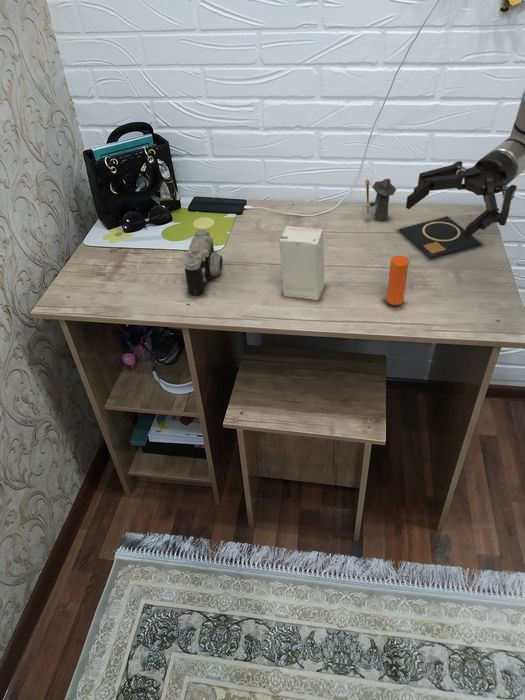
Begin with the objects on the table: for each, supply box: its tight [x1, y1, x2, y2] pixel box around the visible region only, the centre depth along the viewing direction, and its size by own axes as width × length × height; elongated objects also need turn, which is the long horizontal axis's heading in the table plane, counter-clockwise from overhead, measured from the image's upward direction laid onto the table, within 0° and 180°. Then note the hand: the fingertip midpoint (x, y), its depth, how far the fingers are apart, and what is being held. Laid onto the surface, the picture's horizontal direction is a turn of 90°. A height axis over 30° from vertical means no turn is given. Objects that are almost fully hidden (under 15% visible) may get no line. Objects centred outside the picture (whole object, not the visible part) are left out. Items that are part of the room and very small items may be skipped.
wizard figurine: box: [364, 178, 397, 221], centre depth 144 cm, size 8×6×12 cm
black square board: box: [398, 216, 482, 260], centre depth 140 cm, size 14×14×1 cm
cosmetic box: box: [278, 225, 325, 301], centre depth 122 cm, size 8×6×15 cm
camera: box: [183, 228, 224, 298], centre depth 129 cm, size 15×7×10 cm, turn 173°
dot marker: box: [385, 255, 410, 308], centre depth 118 cm, size 4×4×11 cm
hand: (436, 217), depth 110 cm, fingers open, 13 cm apart
